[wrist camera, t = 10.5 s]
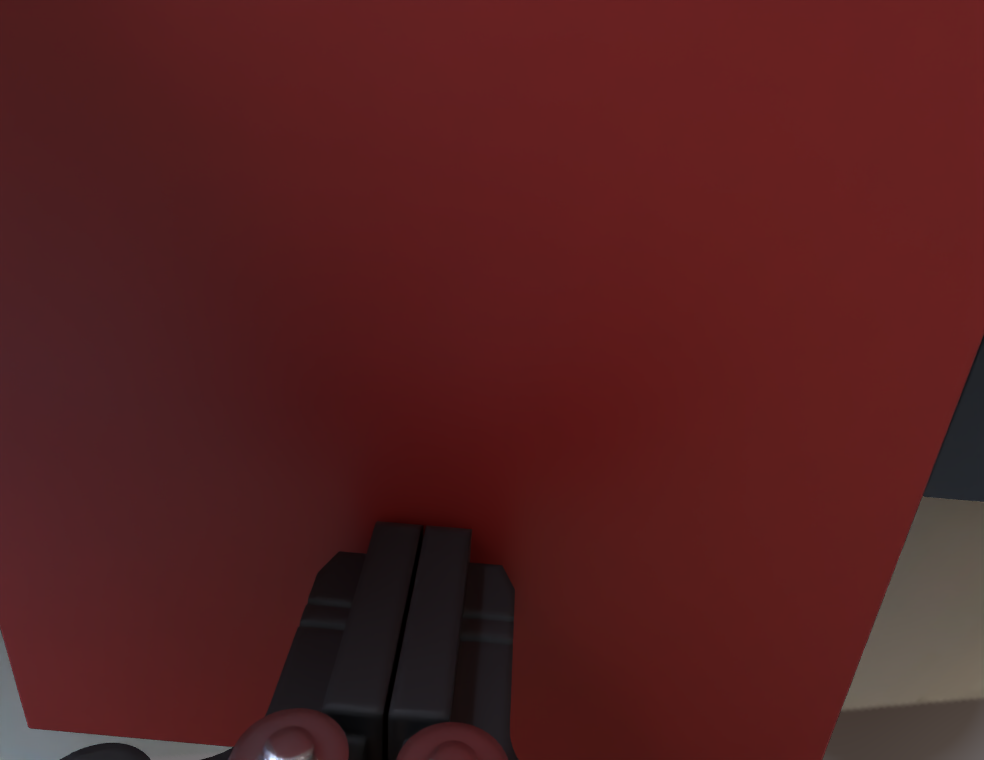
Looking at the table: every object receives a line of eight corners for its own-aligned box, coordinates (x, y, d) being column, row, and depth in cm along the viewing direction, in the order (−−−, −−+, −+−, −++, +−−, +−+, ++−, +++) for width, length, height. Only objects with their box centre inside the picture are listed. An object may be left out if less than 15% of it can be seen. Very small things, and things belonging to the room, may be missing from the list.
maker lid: (789, 744, 16) (807, 800, 15) (61, 679, 16) (26, 729, 15) (1182, -382, 8) (1279, -436, 7) (-222, -481, 8) (-334, -547, 7)
